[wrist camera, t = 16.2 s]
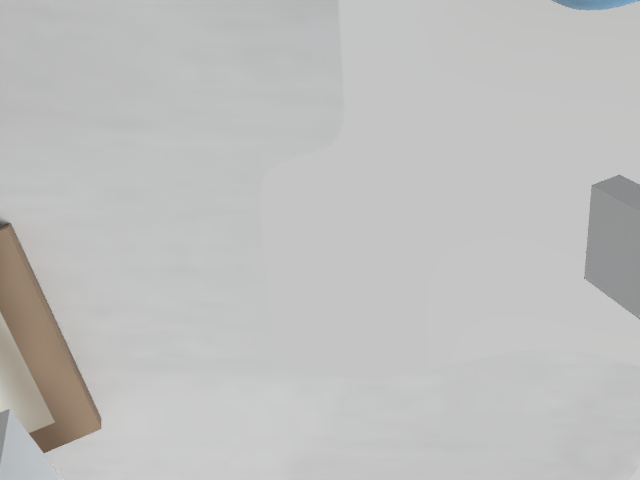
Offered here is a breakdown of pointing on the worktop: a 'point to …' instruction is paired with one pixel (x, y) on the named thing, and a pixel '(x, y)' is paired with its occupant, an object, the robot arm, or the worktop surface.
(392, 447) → the worktop surface
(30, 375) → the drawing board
